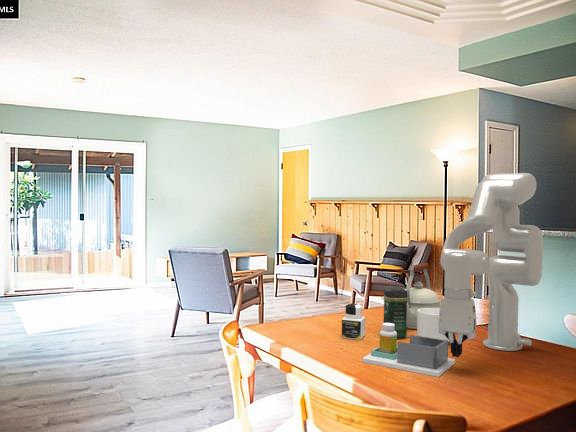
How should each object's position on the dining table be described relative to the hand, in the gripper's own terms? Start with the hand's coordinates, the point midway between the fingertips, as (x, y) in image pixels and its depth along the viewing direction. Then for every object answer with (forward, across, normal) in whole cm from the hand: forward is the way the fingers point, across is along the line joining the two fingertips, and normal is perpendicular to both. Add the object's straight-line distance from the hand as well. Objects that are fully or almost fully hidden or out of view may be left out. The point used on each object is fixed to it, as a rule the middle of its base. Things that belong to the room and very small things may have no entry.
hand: (456, 355), depth 156 cm
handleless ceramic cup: (+5, +16, -28) cm, 33 cm away
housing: (+3, +10, 0) cm, 11 cm away
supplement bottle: (+4, +22, 0) cm, 22 cm away
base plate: (+5, +15, 0) cm, 15 cm away
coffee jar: (+5, +30, -28) cm, 42 cm away
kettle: (+5, +30, -48) cm, 57 cm away
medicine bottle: (+5, +43, -18) cm, 47 cm away
